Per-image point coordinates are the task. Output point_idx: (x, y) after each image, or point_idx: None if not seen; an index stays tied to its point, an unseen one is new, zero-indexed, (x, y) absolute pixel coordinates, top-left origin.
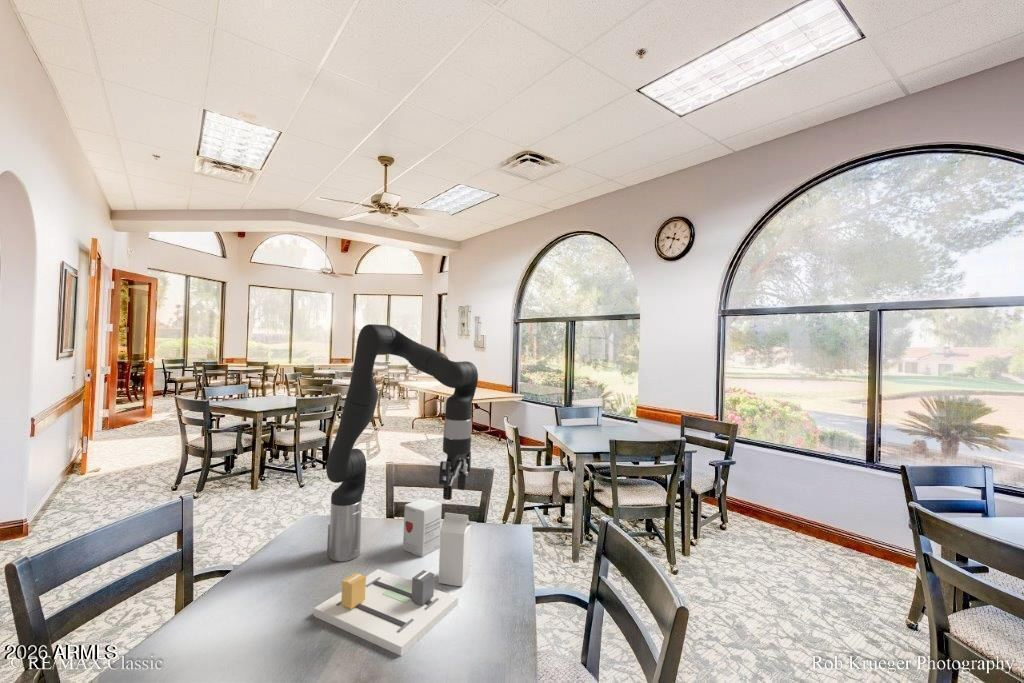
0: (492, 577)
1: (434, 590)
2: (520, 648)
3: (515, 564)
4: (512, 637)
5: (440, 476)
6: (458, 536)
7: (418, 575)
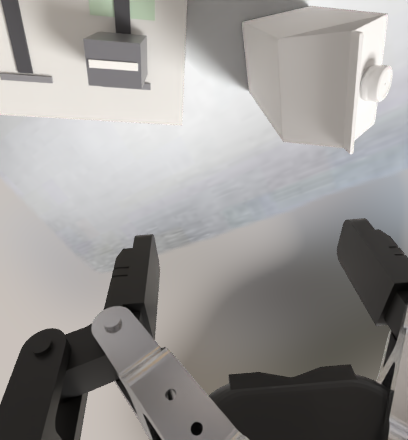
0: None
1: (178, 54)
2: None
3: (381, 157)
4: None
5: (3, 419)
6: (278, 118)
7: (105, 49)
